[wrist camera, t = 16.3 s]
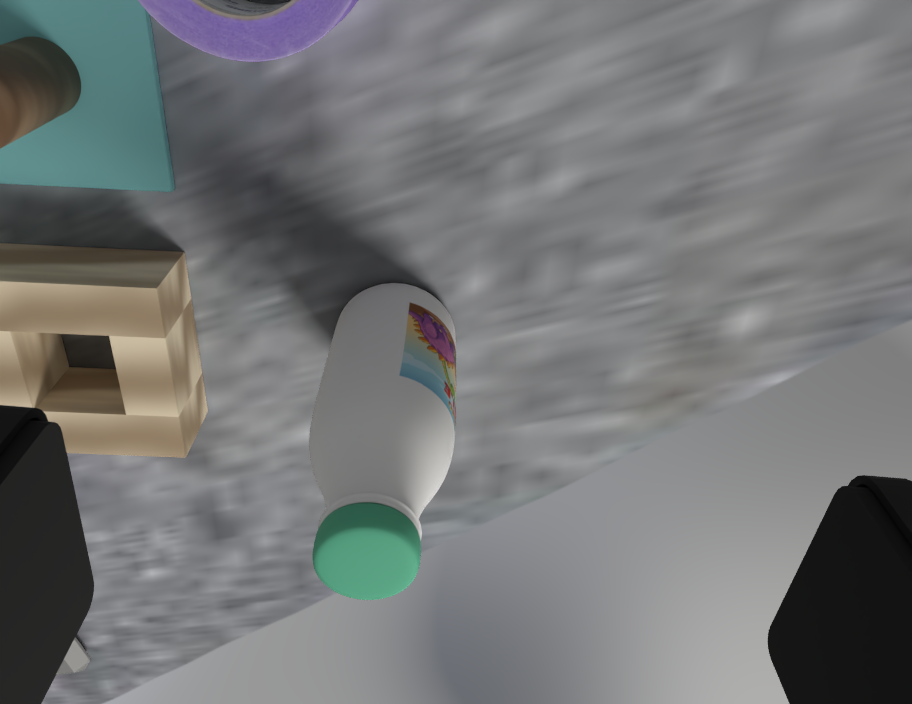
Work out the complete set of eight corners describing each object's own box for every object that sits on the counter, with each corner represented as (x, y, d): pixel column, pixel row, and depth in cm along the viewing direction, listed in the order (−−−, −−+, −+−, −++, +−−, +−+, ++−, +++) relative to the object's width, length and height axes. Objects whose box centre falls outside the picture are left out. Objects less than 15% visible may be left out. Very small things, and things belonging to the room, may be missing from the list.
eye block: (-16, 242, 45) (-65, 278, 41) (184, 251, 46) (156, 288, 41) (32, 404, 52) (-6, 449, 47) (207, 411, 52) (185, 457, 48)
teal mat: (-105, -58, 37) (-112, -58, 36) (141, -44, 37) (136, -43, 37) (-35, 178, 43) (-41, 181, 43) (175, 188, 44) (171, 192, 43)
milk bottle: (342, 382, 51) (286, 629, 34) (331, 279, 47) (260, 500, 30) (456, 380, 51) (458, 627, 34) (454, 277, 47) (455, 497, 30)
